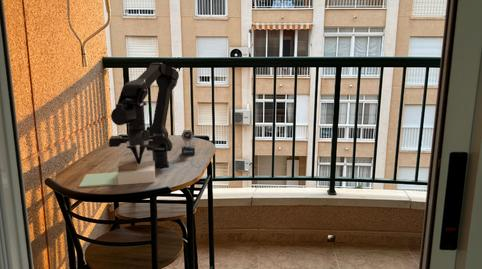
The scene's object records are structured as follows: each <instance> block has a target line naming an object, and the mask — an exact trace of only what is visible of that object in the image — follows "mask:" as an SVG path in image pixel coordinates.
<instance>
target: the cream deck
mask: <svg viewBox="0 0 482 269" xmlns="http://www.w3.org/2000/svg"><path fill="white" fill-rule="evenodd" d="M117 172H118V171H117ZM155 182H156V168H155V161H153V160H145V161H142V160H141V163H140V164H138V163H137V170H135V171H122V172H118V185H119V186H120V185H121V186H122V185H132V184H146V183H147V184H149V183H155ZM118 185H117V186H118Z"/></svg>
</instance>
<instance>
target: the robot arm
mask: <svg viewBox="0 0 482 269" xmlns="http://www.w3.org/2000/svg"><path fill="white" fill-rule="evenodd" d="M179 76H180V74H179V71H178V70H177V69H176V68H175V67H171V66H169V65H166V64H165V63H162V62H152V63H150V64H149V66H148V68H147V69H146V70H144V71H143V72H142V74H140V75H139V76H138V77H137V78H136V79H133V80H130V81H128V82H126V83H125V84H123V86H122V88H121V91H120V95H119V97H118V101H117V103H115V108H113V110H112V112H111V114H110V118H111V121H112V123H114V124H115V125H116V126H123V125H127V130H128V132H127V137H123V136H122V135H111V136H110V137H109V138H108V148H114V147H116V148H117V147H120V146H121V145H122V144H126V148H127V149H130V150H131V152H132V153H133V155H134V156H133V157H134V158H136V161H137V163H138V164H140V163H141V161H142V158H143V154H144V152H145V149H146V151H148V152H149V151H150V152H152V161H155V169H156V168H167V167H170V162H169V160H168V152H171V151H172V149H173V142H172V141H171V139H170V138H169V132H168V129H167V126H166V125H167V119H168V112H169V106H170V101H171V95H172V91H173V90H174V89H175V87H176V86H177V84H178V80H179ZM154 83H156V85H157V87H158V91H157V97H156V103H155V108H154V115H153V120H152V124H151V125H150V126H146V121H145V106H147V103H146V101H144V100H145V99H146V98H147V96H148V94H149V88H150V86H152V85H153V84H154ZM137 146H139V149H138V147H137ZM138 150H139V151H138Z"/></svg>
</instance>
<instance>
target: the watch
mask: <svg viewBox="0 0 482 269" xmlns="http://www.w3.org/2000/svg"><path fill="white" fill-rule="evenodd" d="M194 137H195V134H194V133H193V131H192V129H191V128H185V129H184V130H183V131H182V133H181V138H182V141H183V144H184V145H181V156H195V155H196V147H195V145H194V144H193V145H192V142H193V139H194Z"/></svg>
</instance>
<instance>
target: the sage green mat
mask: <svg viewBox="0 0 482 269" xmlns="http://www.w3.org/2000/svg"><path fill="white" fill-rule="evenodd" d="M107 186H118V171H116V172H114V171H113V172H101V173H87V174H85V175H84V177H83V179H82V181H81V182H80V183H79V185H78V187H79V188H91V187H93V188H95V187H107Z"/></svg>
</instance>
